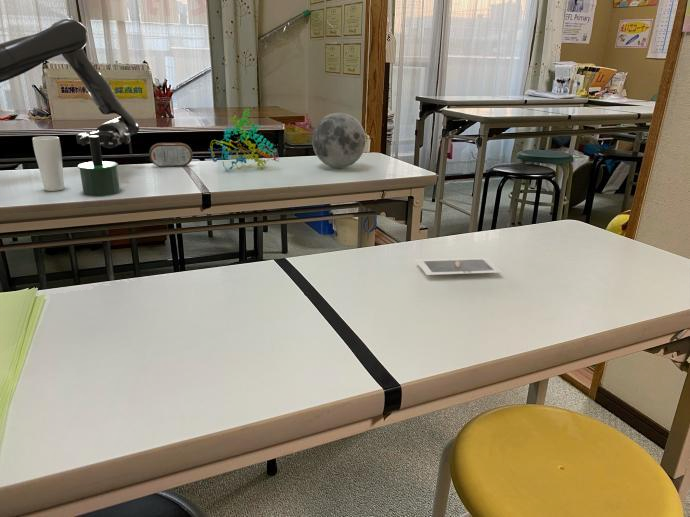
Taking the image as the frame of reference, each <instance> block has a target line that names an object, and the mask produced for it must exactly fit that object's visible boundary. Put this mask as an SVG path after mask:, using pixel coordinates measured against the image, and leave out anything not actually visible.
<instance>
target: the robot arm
mask: <svg viewBox="0 0 690 517" xmlns="http://www.w3.org/2000/svg"><path fill="white" fill-rule="evenodd" d="M88 38H89V34H88V31H87V28H86V27H85V26H84V24H82V23H81V22H79V21H78V20H75V19H72V18H63V19H60V20H58V21H56V22H54V23H52V24H51V25H50V27H48V28H46V29H44V30H42V31H39V32H37V33H34V34H31V35H30V34H29V35H26V36H22V37H18V38H14V39H10V40H7V41H4V42H0V84H1V83H4V82H6V81H9V80H11V79H12V80H13V79H14V78H16V77H19V76H21V75H23V74H26V73H27V72H29V71H31V70H33V69H35V68H36V67H38V66H40V65H42V64H43V63H45V62H46V61H48V60H50V59H52V58H55V57H58V56H62V57H63V58H64V60H65V61H66V62H67V64H68V65H69V66H70V67H71V69H72V70H73V71H74V72H75V74H76V75H77V77H78V78H79V80H80V81H81V83H82V84H83V86H84V87H85V89H86V91H87V92H88V94H89V95H90V97H91V99H92V100H93V102H94V104H95V105H96V107H97V108H98V111H99V112H100V113H101V114H102V115H114V114H115V115H118V116H119V117H117V118H114V119H111V120H109V121H106V122H104V123H102V124H100V125H98V126H97V128H96V129H95V131H92V132H91V131H90V132H88V133H87V132H85V131H83V132H80V133H77V134H76V135H75V137H76V143H77V144H78V145H81V146H86V145H88V144H89V145H90V141H89V136H99V140H100V146H102V147H103V148H106V149H113V148H116V147H118V146H119V145H122V143H123V144H125V145H128V144H129V143H130V142H131V137H132V136H135V135H136V134H138V133H139V131H140V125H139V123H138V121H137V119H136V118H135V117H134V116H133V115H132V114H131V113H130V112H129V111H128V110H127V109H126V108H125V107H124V106H123V104H122V103H121V101H120V100H119V99H118V97H117V95H116V93H115V92H114V90H113V89H112V87H111V85H110V84H109V82H108V81H107V80H106V79H105V77H104V76H103V75H102V74H101V73H100V71H98V70H97V68H96V67H95V66H94V65H93V64H92V63H93V62H91V60H90V59H89V58H88V56H87V54H86V52H85V50H84V47H85V46H86V45H87V42H88Z"/></svg>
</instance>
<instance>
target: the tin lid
mask: <svg viewBox="0 0 690 517" xmlns="http://www.w3.org/2000/svg"><path fill="white" fill-rule="evenodd" d="M88 141H90V143H89V147H90V154H91V155H90V156H91V161H88V162H82V163H79V164H78V165H77V169H79V170H80V169H83V170H104V169H111V168H115V167H117V168H118V167H119V163H118V162H115V161H107V160H104V161H103V156H102V147H101V145H100V140H99V136H89V139H88Z"/></svg>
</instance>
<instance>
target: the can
mask: <svg viewBox="0 0 690 517" xmlns="http://www.w3.org/2000/svg"><path fill="white" fill-rule="evenodd" d="M79 174H80V181H81V187H82V192H83V195H86V196H90V197H105V196H112V195H116V194H118V193H120V191H121V187H120V180H119V173H118V166H117V167H115V168H111V169H104V170H83V169H79Z"/></svg>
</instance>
